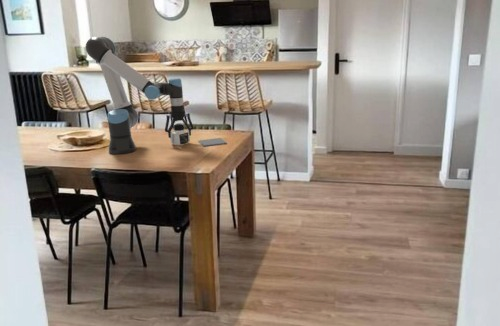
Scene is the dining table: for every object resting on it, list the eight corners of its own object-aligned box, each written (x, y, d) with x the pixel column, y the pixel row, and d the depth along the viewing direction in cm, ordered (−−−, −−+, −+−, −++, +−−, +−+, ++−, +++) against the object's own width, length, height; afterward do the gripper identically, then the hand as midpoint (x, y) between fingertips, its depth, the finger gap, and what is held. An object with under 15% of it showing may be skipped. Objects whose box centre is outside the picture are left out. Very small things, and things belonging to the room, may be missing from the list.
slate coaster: (203, 146, 263) (203, 145, 262) (198, 141, 275) (198, 140, 275) (226, 143, 267) (226, 142, 267) (220, 139, 280) (220, 137, 279)
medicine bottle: (180, 145, 267) (178, 125, 264) (172, 144, 271) (170, 124, 268) (188, 143, 273) (187, 123, 269) (180, 141, 277) (178, 122, 273)
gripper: (159, 107, 259) (162, 145, 265) (197, 104, 265) (199, 141, 272) (157, 105, 265) (160, 142, 272) (194, 102, 272) (197, 138, 279)
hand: (180, 141), depth 272 cm, fingers closed on medicine bottle, 10 cm apart
